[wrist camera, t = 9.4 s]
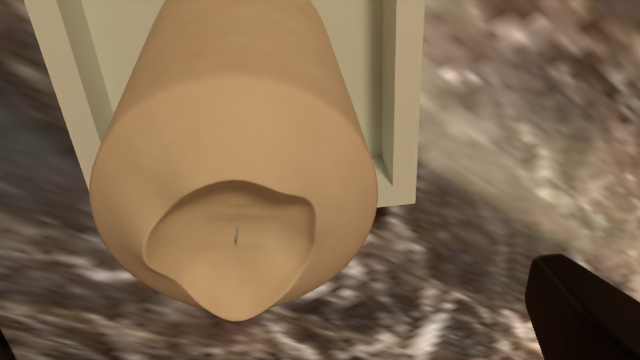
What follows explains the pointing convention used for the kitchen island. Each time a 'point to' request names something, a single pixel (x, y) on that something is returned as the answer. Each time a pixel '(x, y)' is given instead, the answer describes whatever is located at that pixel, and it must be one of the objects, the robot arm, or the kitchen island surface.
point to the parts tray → (344, 34)
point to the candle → (234, 159)
